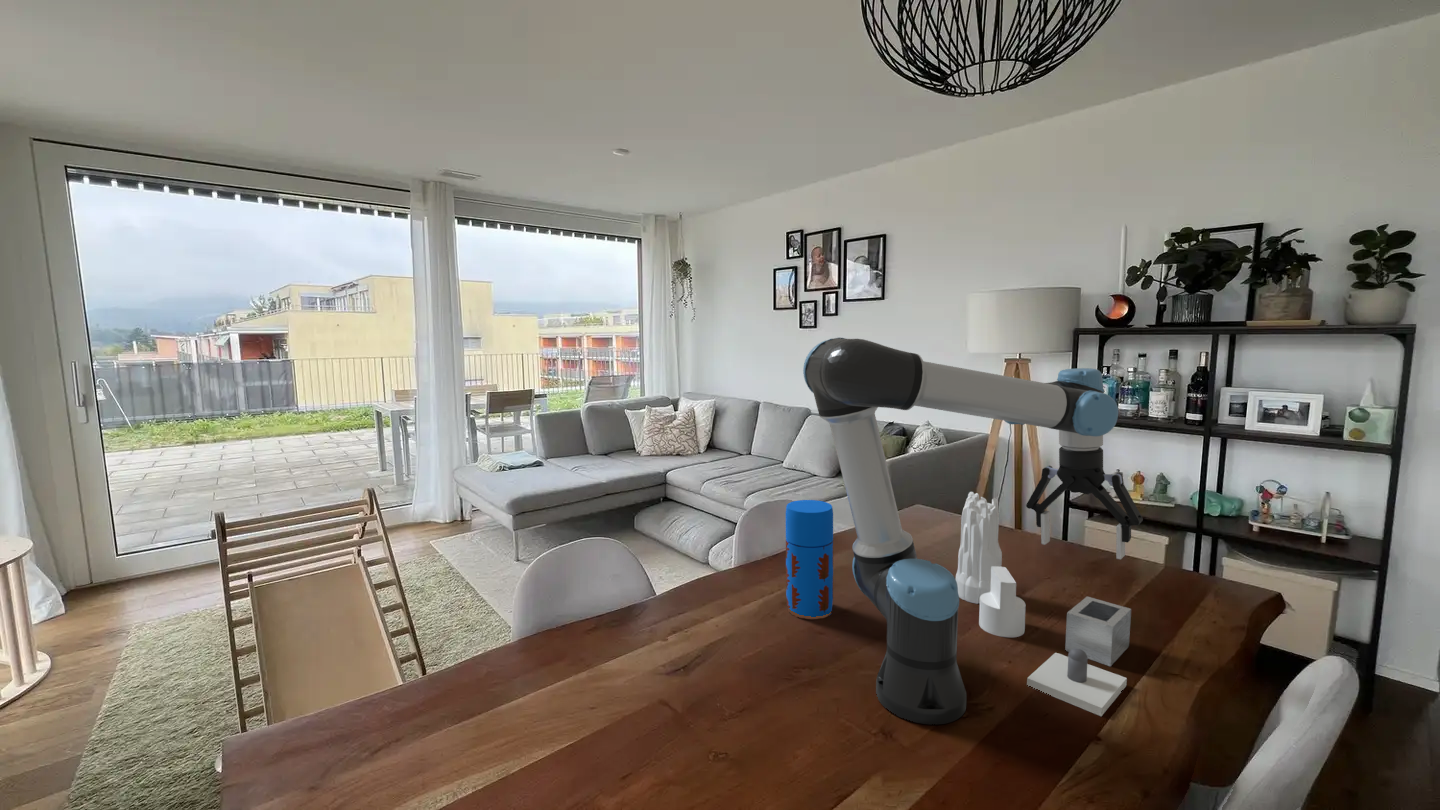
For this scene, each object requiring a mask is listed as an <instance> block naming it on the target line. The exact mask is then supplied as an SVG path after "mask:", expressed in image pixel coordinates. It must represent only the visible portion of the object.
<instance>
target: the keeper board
mask: <svg viewBox="0 0 1440 810" xmlns="http://www.w3.org/2000/svg"><path fill="white" fill-rule="evenodd" d="M1088 661H1089V659H1088V657H1087V655H1086V653H1085V652H1084V651H1083V650H1081V649H1078V648H1074V649H1072V650H1070V652H1068V655H1067V656H1066V655H1064V654H1062V653H1057V652H1054V653H1053V654H1052V655H1051V656H1050V657H1049V658H1048V659H1046V660H1045V661H1044V662H1043V663H1042V664H1041V665H1040V666H1038V668H1037V669H1036V670H1034V671H1033V672H1032V673H1031V674H1030V675H1029V676H1028V677H1027V678H1026V686H1027V685H1028V686H1027V687H1029V686H1031V687H1033V688H1032V689H1034V688H1035V689H1034V690H1036V689H1038V690H1040V691H1039V692H1041V691H1042V692H1041V693H1043V692H1044V693H1043V694H1046V693H1047V694H1046V695H1048V694H1049V695H1048V696H1050V695H1051V697H1053V698H1055V699H1058V700H1060V701H1063V702H1065V703H1068V704H1070V705H1073V706H1075V707H1078V708H1080V709H1082V710H1084V711H1087V712H1090V713H1092V714H1094V715H1097V716H1099V717H1102V716H1103V715H1104V714H1105V713H1106V711H1107V710H1108V709H1109V708H1110V706H1112V704H1113V703H1114V702H1115V701H1116V699H1117V698H1118V697H1119V695H1120V694H1121V693H1122V692H1123V691H1124V689H1125V688H1126V687H1127V681H1128V679H1127V677H1125V676H1123V675H1120V674H1118V673H1113V672H1111V671H1108V670H1105V669H1102V668H1100V667H1099V666H1098V667H1097V666H1095V665H1091V664H1088ZM1031 687H1030V688H1031ZM1038 690H1037V691H1038ZM1122 690H1123V691H1122ZM1121 691H1122V692H1121Z"/></svg>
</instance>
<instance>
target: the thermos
mask: <svg viewBox="0 0 1440 810" xmlns="http://www.w3.org/2000/svg"><path fill="white" fill-rule="evenodd" d="M785 588H786V589H785V595H786V596H785V597H786V607H787V606H788V608H789V609H790V610H791V611H793V612H795V613H797V614H799V615H804V616H811V617H816V616H823V615H826V614H829V613H830V612H831V611H832V612H833V603H834V600H833V599H834V507H833V505H832V504H831V503H828V502H826V501H822V500H817V499H802V500H801V499H800V500H794V501H791V502H789V503H787V504H786V507H785Z"/></svg>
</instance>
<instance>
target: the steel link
mask: <svg viewBox="0 0 1440 810" xmlns="http://www.w3.org/2000/svg"><path fill="white" fill-rule="evenodd" d="M1131 617H1132V608H1129V607H1126V606H1122V605H1120V604H1115V603H1111V602H1108V601H1105V600H1102V599H1097V598H1095V597H1091V596H1085V597H1084V598H1083V599H1082V600H1081V601H1080V602H1078V603H1076V605H1074V606H1073V607H1072V608H1071V609H1069V610H1068V611H1067V612H1066V624H1065V625H1066V626H1065V629H1066V630H1065V644H1064V646H1065V647H1064V648H1065V649H1064V651H1065V650H1066V651H1065V652H1068V653H1069V652H1070V650H1072V649H1074V648H1078V649H1081V650H1083V651H1084V652H1085V653H1086V655H1087V657H1088V660H1091V661H1094V662H1096V663H1099V664H1102V665H1105V666H1108V667H1112V665H1114V664H1115V662H1116V661H1117V660H1118V659H1119V658H1120V657H1121V656H1122V655H1123V653H1125V651H1126V650H1127V649H1128V648H1129V647H1130V634H1131V633H1130V631H1131V621H1132V620H1131Z"/></svg>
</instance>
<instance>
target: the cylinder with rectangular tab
mask: <svg viewBox="0 0 1440 810" xmlns="http://www.w3.org/2000/svg"><path fill="white" fill-rule="evenodd" d="M978 615H979V616H978V625H979V627H980V629H982V630H983V631H984V632H986V633H988V634H991V635H993V636H998V637H1002V638H1017V637H1018V638H1019V637H1021V636H1023V635H1024V634H1025V629H1026V602H1025V601H1024V600H1023V599H1022V598H1021V597H1019V596H1017V582H1016V580H1015V579H1014V577H1013V576H1012V574H1011V573H1010V571H1009V569H1007V567H1005V566H1001V567H999V566H992V567H991V589H990V592H988V593H984V594H982V595H981V596H980V604H979V614H978Z"/></svg>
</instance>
